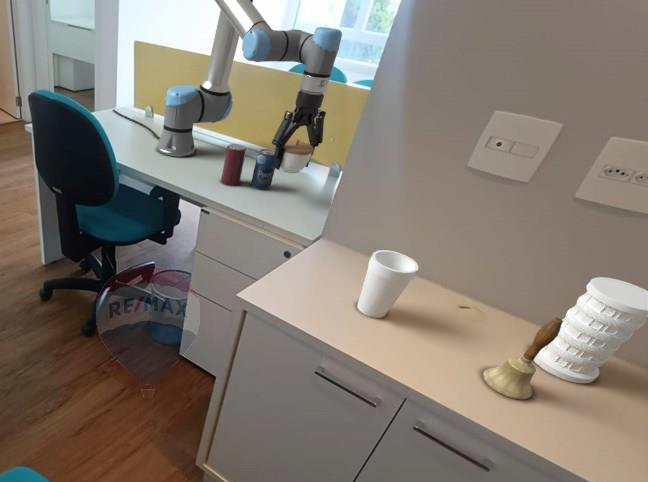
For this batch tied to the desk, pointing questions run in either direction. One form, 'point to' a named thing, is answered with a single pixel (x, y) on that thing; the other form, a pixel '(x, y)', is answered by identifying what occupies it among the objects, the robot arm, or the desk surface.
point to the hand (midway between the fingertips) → (290, 166)
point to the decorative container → (595, 329)
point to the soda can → (263, 169)
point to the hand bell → (521, 366)
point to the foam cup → (385, 281)
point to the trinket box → (295, 156)
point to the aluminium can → (233, 164)
